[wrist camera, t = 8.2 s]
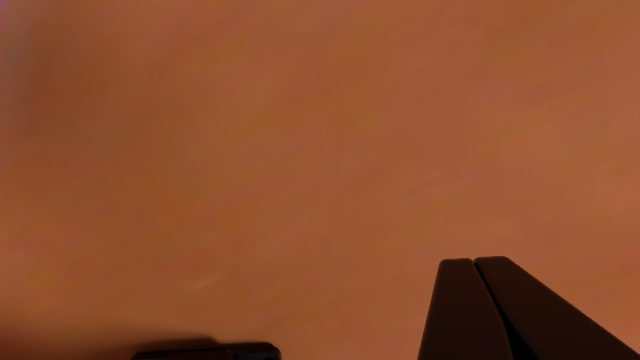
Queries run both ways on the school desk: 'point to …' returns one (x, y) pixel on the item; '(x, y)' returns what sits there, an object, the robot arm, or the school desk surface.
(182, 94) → the school desk surface
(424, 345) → the robot arm
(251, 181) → the school desk surface
